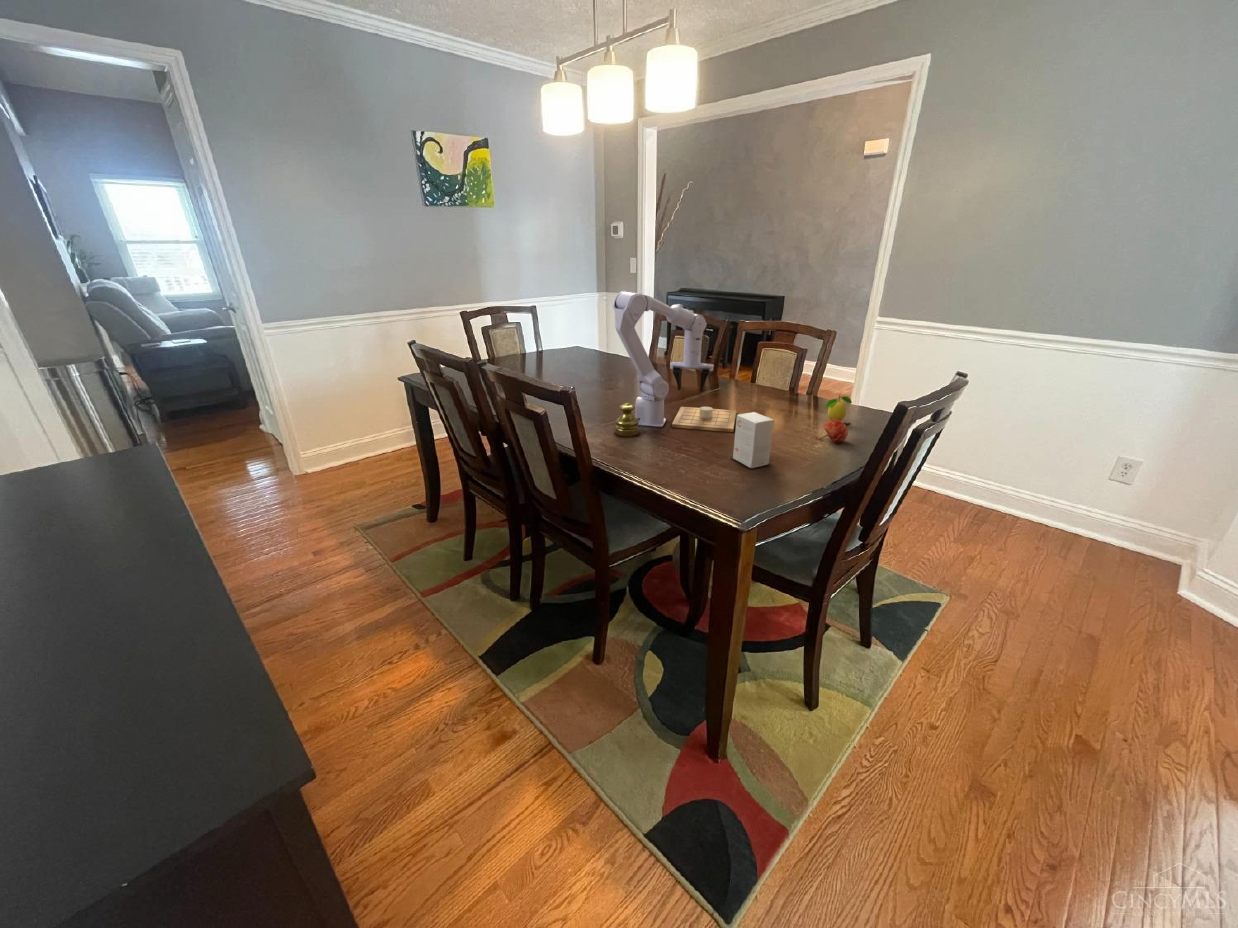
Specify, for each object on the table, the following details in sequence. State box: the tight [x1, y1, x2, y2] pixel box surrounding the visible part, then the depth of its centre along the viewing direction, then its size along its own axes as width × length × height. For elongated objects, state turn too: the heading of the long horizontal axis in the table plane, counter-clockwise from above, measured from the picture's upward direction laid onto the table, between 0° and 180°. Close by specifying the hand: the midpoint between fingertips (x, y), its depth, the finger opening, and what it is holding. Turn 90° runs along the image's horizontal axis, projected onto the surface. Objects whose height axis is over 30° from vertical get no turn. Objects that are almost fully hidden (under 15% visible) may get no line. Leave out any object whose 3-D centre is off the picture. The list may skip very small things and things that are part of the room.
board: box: [671, 406, 737, 433], centre depth 169 cm, size 20×20×1 cm
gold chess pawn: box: [615, 402, 640, 438], centre depth 156 cm, size 7×7×10 cm
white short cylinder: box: [699, 406, 714, 419], centre depth 168 cm, size 4×4×3 cm
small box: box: [732, 411, 775, 469], centre depth 134 cm, size 8×6×13 cm
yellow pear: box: [824, 394, 853, 421], centre depth 164 cm, size 7×6×10 cm
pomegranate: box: [819, 419, 852, 444], centre depth 149 cm, size 7×7×10 cm
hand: (690, 390), depth 170 cm, fingers open, 7 cm apart
